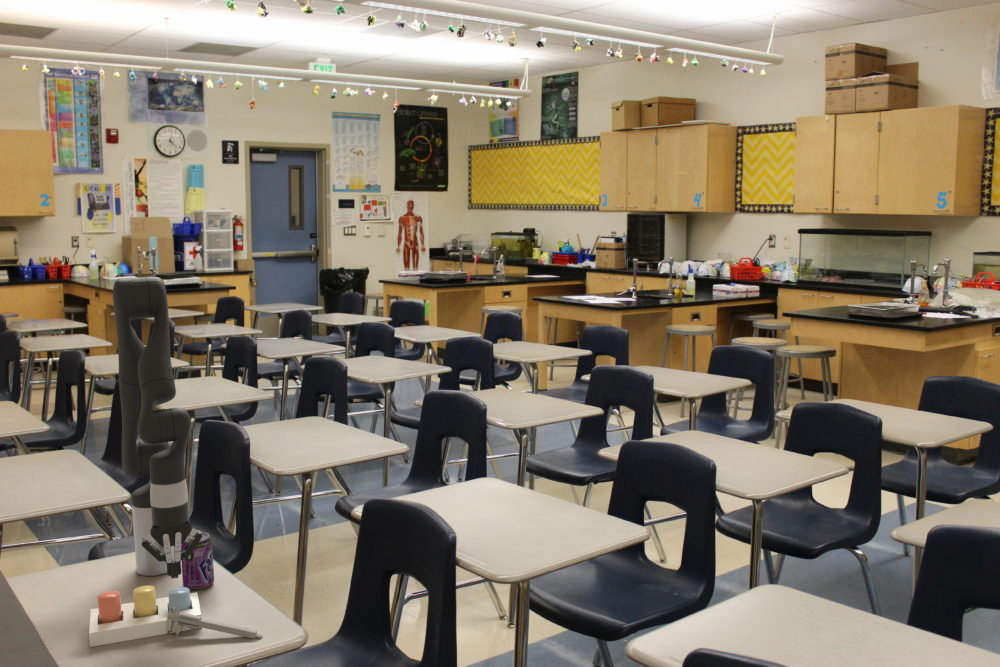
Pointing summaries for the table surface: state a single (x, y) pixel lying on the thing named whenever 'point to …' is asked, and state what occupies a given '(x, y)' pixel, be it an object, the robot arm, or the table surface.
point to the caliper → (205, 624)
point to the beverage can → (198, 564)
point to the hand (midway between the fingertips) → (174, 576)
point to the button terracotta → (109, 607)
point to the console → (136, 623)
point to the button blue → (179, 598)
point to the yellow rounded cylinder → (144, 601)
